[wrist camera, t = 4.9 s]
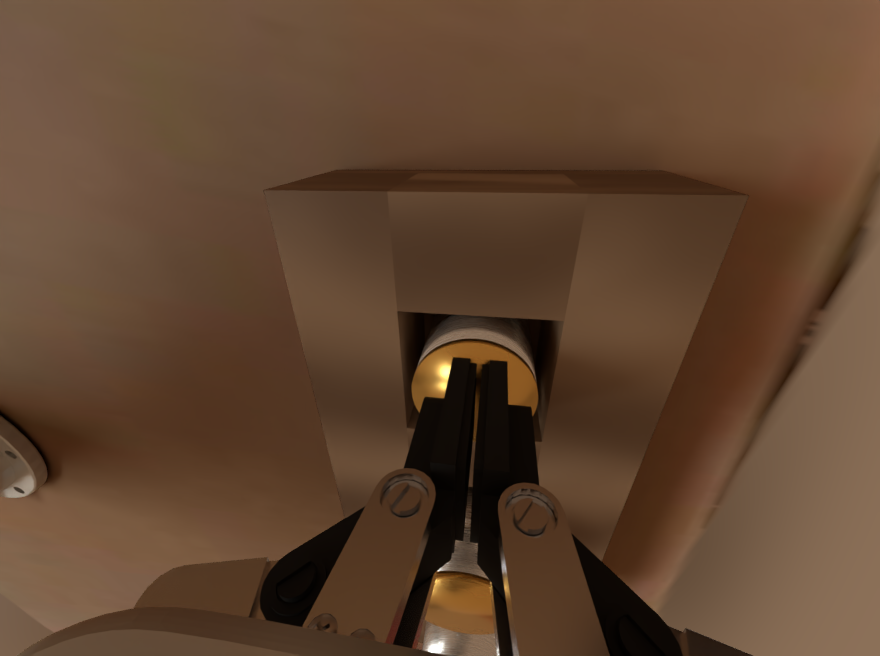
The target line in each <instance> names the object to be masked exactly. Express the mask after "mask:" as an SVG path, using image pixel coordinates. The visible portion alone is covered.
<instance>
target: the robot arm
mask: <svg viewBox="0 0 880 656" xmlns="http://www.w3.org/2000/svg"><path fill="white" fill-rule="evenodd" d="M470 361H471V360H470V358H459V357H453V359H452V364H451V368H450V373H449V378H448V382H447V387H446V392H445V396H444V398H435V397H425V398H424V400H423V403H422V406H421V410H420V413H419V417H418V420H417V424H416V427H415V431H414V434H413V437H412V441H411V444H410V448H409V451H408V455H407V458H406V462H405V465H404V468H403V469H397V470H395V471H393V472H390V473H388V474H387V475H386V476H384V477H383V478H382V479H381V480H380V482H379V483H378V484H377V486H376V487H375V489H374V491H373V493H372V495H371V497H370V499H369V501H368V502H367V504H366V506H365V507H363V508H361V509H360V510H358V511H356V512H355V513H353V514H352V515H350V516H348V517H347V518H345V519H343V520H342V521H340V522H339V523H337V524H335V525H334V526H332V527H330V528H329V529H327V530H325V531H324V532H322V533H321V534H319V535H317V536H316V537H314V538H312V539H311V540H309V541H308V542H306V543H304V544H303V545H301V546H299V547H298V548H296V549H294V550H293V551H291V552H290V553H288V554H287V555H285V556H284V557H283V558H282V559H280V560H276V561H269V559H268V557H264V558H254V559H244V560H233V561H223V562H213V563H203V564H193V565H184V566H181V567H177V568H173V569H171V570H170V571H168V572H166V573H164V574H163V575H161V576H159V577H158V578H157V579H156V580H155V581H154V582H153V583H152V584H151V585H150V586H148V587H147V589H146V590H145V591H144V593H143V594H142V596H141V597H140V598H139V600H138V601H137V603H136V605H135V607H134V609H128V610H123V611H118V612H113V613H108V614H104V615H101V616H98V617H95V618H91V619H88V620H85V621H82V622H79V623H77V624H74V625H72V626H70V627H67V628H65V629H62V630H60V631H58V632H55V633H53V634H51V635H49V636H47V637H45V638H44V639H42V640H40V641H38V642H37V643H35V644H33V645H31V646H30V647H28V648H27V649H25V650H24V651H23V652H21V653H20V654H18V655H17V656H448V655H443V654H438V653H433V652H428V651H423V650H418V649H416V648H417V644H418V641H419V637H420V634H421V630H422V627H423V623H424V620H425V616H426V613H427V610H428V606H429V603H430V599H431V596H432V592H433V589H434V585H435V582H436V578H437V572H438V570H439V569H440V568H441V567H443V566H444V565H445V564H446V563H447V562H449V561H450V560H451V557H452V553H454V549H455V540H458V541H463V538H464V528H465V518H466V507H467V497H468V486H469V476H470V466H471V455H472V445H473V434H474V416H475V395H476V374H477V364H476V363H470ZM47 475H48V474H47V467H46V464H45V462H44V460H43V458H42V456H41V455H40V453H39V452H38V450H37V449H36V448H35V447H34V445H33V444H32V443H31V442H30V441H29V440H28V439H27V438H26V437H25V436H24V435H23V434H22V433H21V432H20V431H19V430H18V429H17V428H16V427H15V426H13V425H12V424H11V423H10V422H8V421H7V420H6V419H4V418H3V417H2V416H1V415H0V496H2V497H8V498H19V497H24V496H28V495H30V494H31V493H33V492H34V491H36V490H37V489H38V488H39V487H41V486H42V485H43V484H44V483H45V482H46V479H47ZM470 542H471V543H478V551H477V564H478V566H479V567H480V568H481V569H482V571H483V572H484V573H485V575H486V576H487V577H488V579H489V580H490V595H491V604H492V614H493V624H494V633H495V643H496V653H497V656H753V655H750V654H748V653H745V652H743V651H741V650H738V649H736V648H733V647H731V646H728V645H726V644H723V643H721V642H719V641H716V640H714V639H711V638H709V637H706V636H704V635H701V634H699V633H697V632H694V631H692V630H689V629H686V628H685V630H684V631H683V632H682V631H679V630H677V629H674V628H672V627H669V626H667V625H666V623H665V622H664V621H663V620H662V619H661V618H660V616H659V615H658V614H657V613H656V612H655V611H653V610H652V609H651V608H650V607H649V606H648V605H647V604H646V603H645V602H644V601H643V600H642V599H641V598H640V597H639V596H638V595H637V594H635V593H634V592H633V591H632V590H631V589H630V588H629V587H628V586H627V585H626V584H625V583H624V582H623V581H622V580H621V579H620V578H619V577H617V576H616V575H615V574H614V573H613V572H612V571H611V570H610V569H609V568H608V567H607V566H606V565H605V564H604V563H603V562H602V561H601V560H600V559H598V558H597V557H596V556H595V555H594V554H593V553H592V552H591V551H590V550H589V549H588V548H587V547H586V546H585V545H584V544H583V543H582V542H580V541H579V540H578V539H577V538H576V537H575V536H574V535H573V534H572V533H571V531H570V528H569V525H568V522H567V518H566V515H565V512H564V510H563V508H562V506H561V504H560V502H559V501H558V499H557V498H556V497H555V496H554V495H553V494H552V493H551V492H549V491H548V490H547V489H545V488H544V487H541V486H539V476H538V466H537V456H536V446H535V436H534V426H533V416H532V408H531V406H520V405H509V404H508V364H507V361H497V360H490V363H489V364H482V375H481V387H480V398H479V410H478V421H477V433H476V444H475V456H474V470H473V488H472V507H471V527H470Z"/></svg>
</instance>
